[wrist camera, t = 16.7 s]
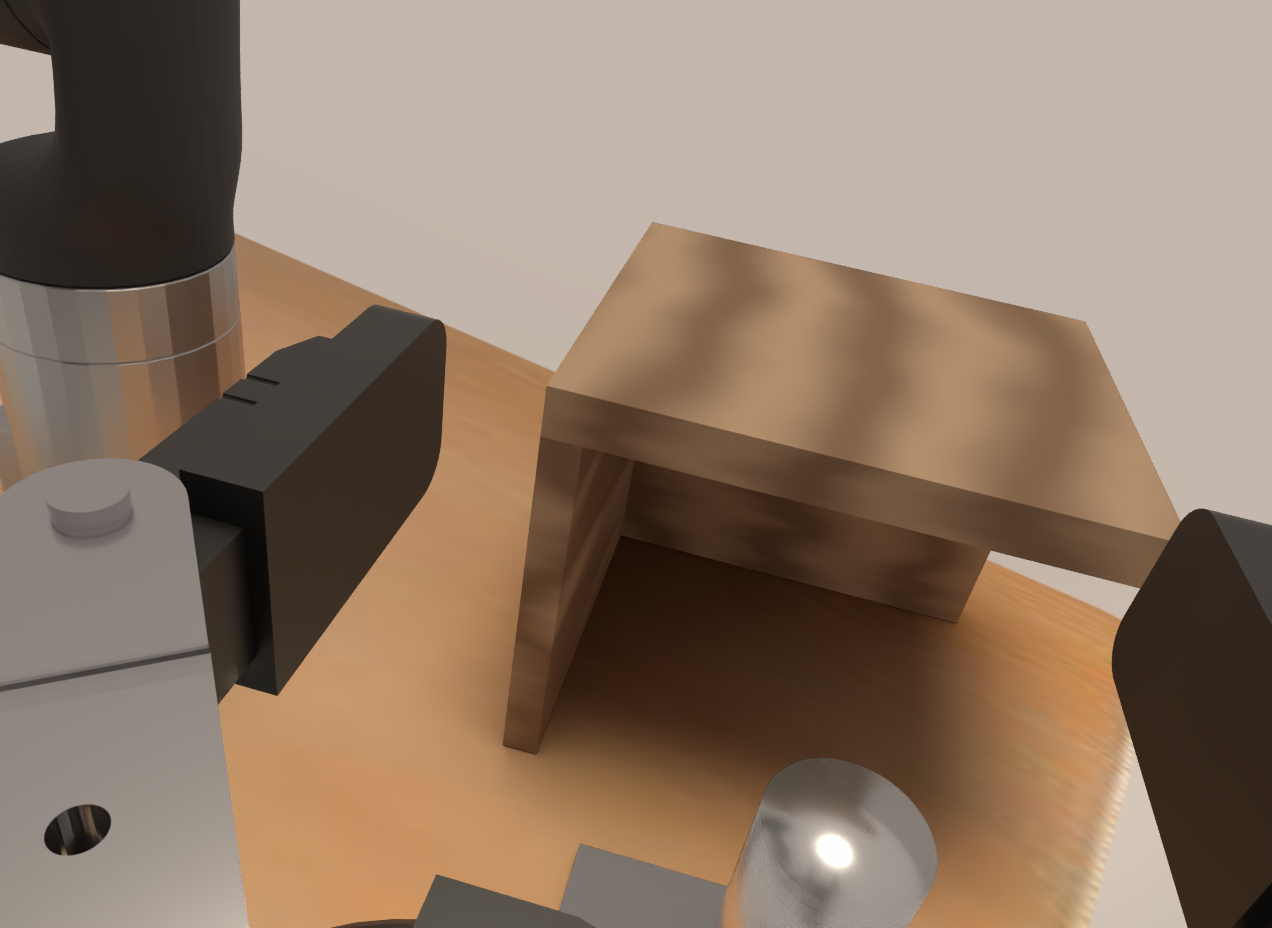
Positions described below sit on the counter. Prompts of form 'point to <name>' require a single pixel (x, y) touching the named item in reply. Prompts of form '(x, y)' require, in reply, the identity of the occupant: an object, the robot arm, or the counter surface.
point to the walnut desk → (820, 443)
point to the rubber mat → (637, 894)
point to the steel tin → (831, 853)
